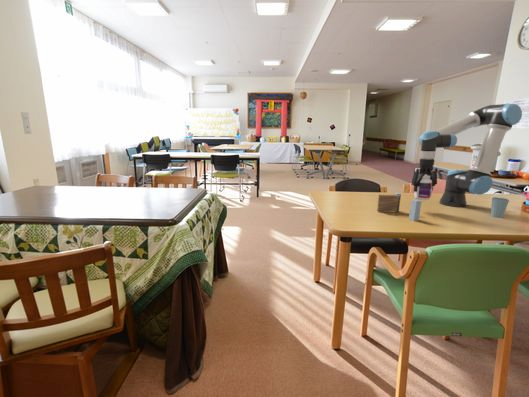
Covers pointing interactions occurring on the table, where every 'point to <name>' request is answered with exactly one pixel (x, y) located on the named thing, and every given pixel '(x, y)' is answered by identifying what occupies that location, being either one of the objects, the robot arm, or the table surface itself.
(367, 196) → the table surface
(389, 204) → the door
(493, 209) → the cup
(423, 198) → the pill bottle
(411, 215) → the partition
